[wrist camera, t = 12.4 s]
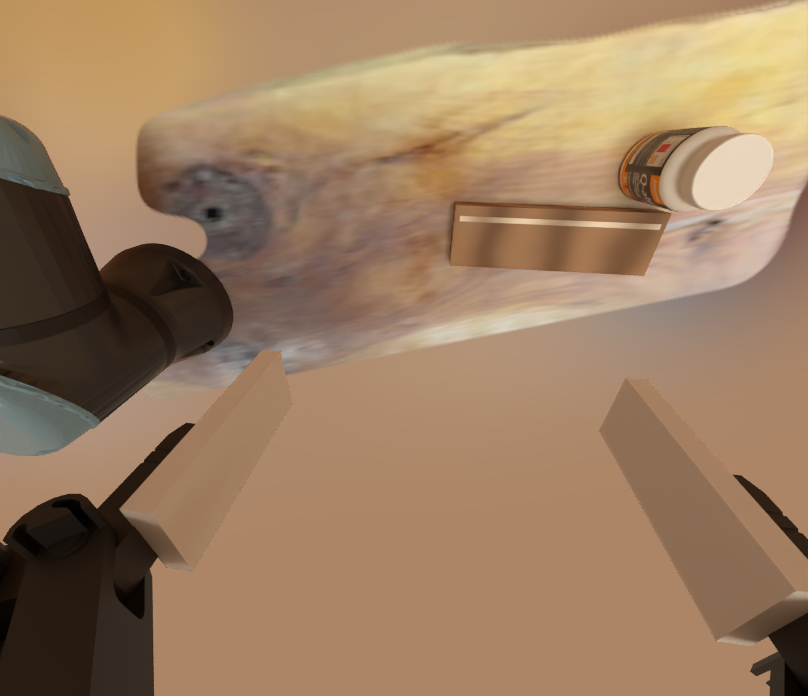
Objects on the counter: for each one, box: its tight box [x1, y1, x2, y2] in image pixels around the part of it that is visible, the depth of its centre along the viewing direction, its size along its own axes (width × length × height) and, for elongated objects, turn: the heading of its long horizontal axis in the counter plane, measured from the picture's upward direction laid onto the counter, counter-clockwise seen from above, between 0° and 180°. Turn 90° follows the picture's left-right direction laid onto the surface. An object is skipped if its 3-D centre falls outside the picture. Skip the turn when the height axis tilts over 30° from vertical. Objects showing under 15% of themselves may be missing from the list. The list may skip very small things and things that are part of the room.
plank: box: [449, 202, 671, 276], centre depth 33 cm, size 20×6×3 cm, turn 89°
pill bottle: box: [620, 126, 774, 212], centre depth 26 cm, size 6×6×10 cm
